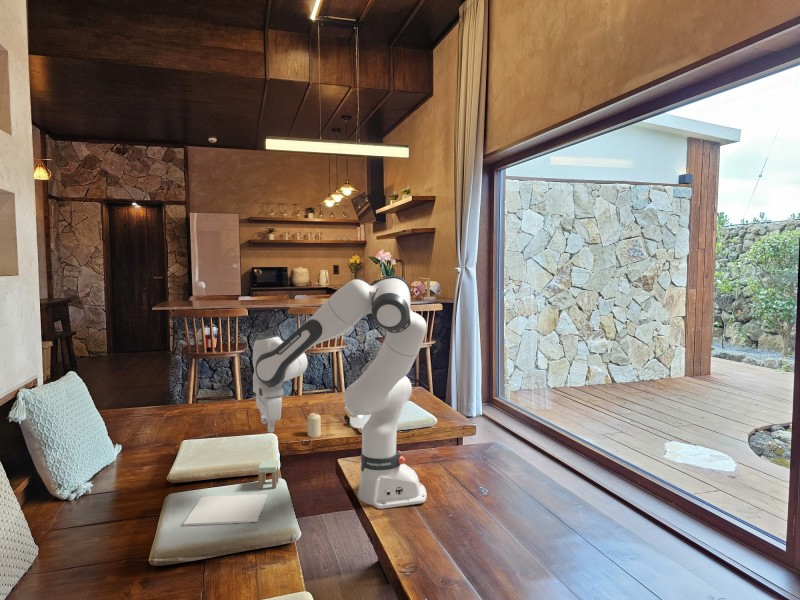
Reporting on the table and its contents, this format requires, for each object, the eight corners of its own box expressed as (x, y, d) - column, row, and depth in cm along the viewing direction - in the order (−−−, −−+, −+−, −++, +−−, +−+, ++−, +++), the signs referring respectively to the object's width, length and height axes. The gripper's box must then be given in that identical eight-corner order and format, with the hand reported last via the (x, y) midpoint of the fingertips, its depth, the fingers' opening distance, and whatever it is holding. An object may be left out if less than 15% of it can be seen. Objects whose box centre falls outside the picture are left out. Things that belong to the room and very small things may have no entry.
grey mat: (267, 496, 152) (267, 494, 152) (257, 522, 136) (257, 520, 136) (201, 498, 150) (201, 496, 150) (183, 525, 134) (183, 523, 134)
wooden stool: (278, 480, 163) (278, 460, 163) (276, 488, 158) (275, 467, 157) (261, 481, 163) (261, 461, 162) (258, 489, 157) (258, 467, 157)
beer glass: (355, 444, 225) (355, 412, 224) (367, 447, 222) (368, 414, 221) (346, 448, 219) (346, 416, 218) (359, 452, 216) (359, 419, 215)
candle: (318, 439, 203) (317, 416, 202) (305, 438, 204) (305, 415, 203) (322, 435, 208) (322, 412, 207) (310, 434, 209) (310, 411, 208)
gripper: (251, 379, 166) (251, 419, 167) (264, 394, 147) (264, 438, 148) (269, 377, 168) (270, 417, 169) (284, 391, 150) (285, 435, 151)
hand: (267, 427), depth 159 cm, fingers open, 8 cm apart
